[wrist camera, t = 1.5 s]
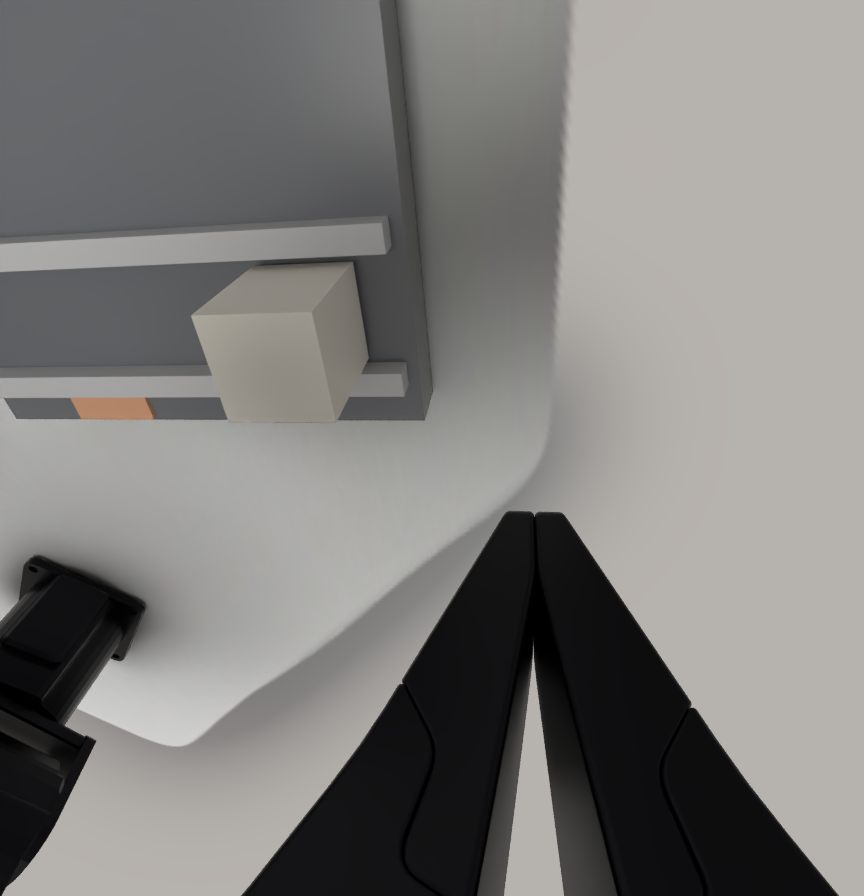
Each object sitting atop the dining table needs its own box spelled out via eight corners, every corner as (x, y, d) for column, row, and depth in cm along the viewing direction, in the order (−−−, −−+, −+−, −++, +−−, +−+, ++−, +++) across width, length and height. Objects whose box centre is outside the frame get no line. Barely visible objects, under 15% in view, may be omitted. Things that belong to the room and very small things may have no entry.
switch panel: (432, 391, 20) (421, 433, 18) (52, 392, 23) (0, 430, 21) (328, -714, 9) (258, -980, 6) (-420, -458, 11) (-657, -584, 9)
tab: (368, 358, 17) (336, 422, 14) (278, 359, 18) (228, 422, 15) (353, 261, 15) (311, 312, 12) (253, 266, 16) (190, 315, 13)
